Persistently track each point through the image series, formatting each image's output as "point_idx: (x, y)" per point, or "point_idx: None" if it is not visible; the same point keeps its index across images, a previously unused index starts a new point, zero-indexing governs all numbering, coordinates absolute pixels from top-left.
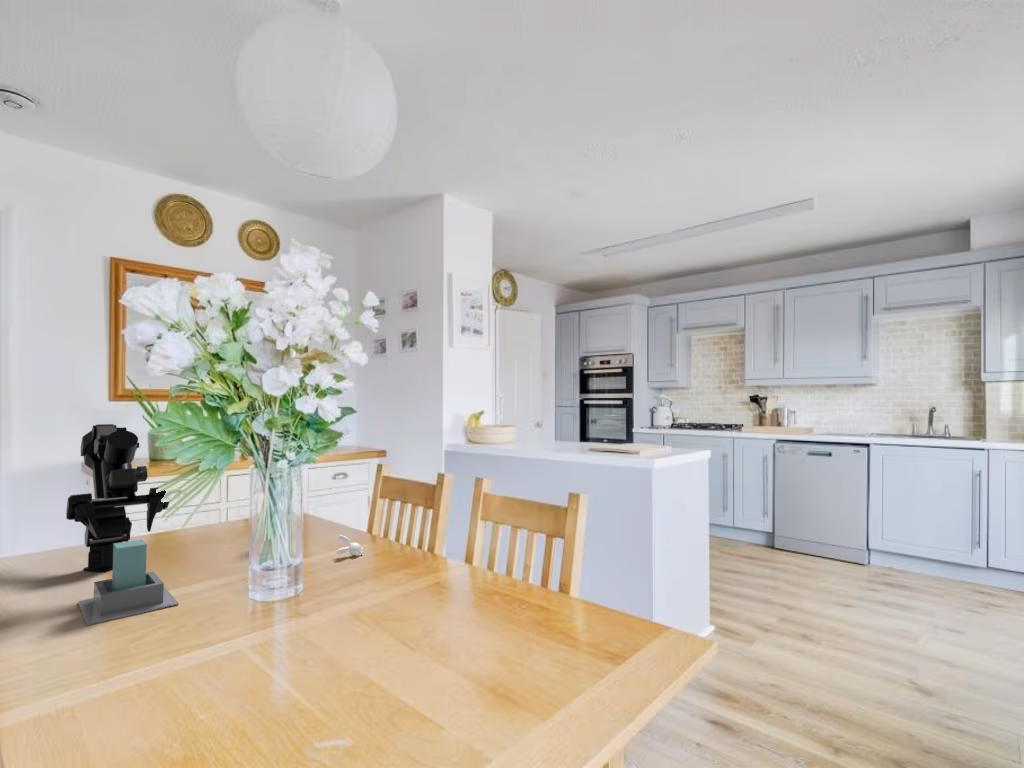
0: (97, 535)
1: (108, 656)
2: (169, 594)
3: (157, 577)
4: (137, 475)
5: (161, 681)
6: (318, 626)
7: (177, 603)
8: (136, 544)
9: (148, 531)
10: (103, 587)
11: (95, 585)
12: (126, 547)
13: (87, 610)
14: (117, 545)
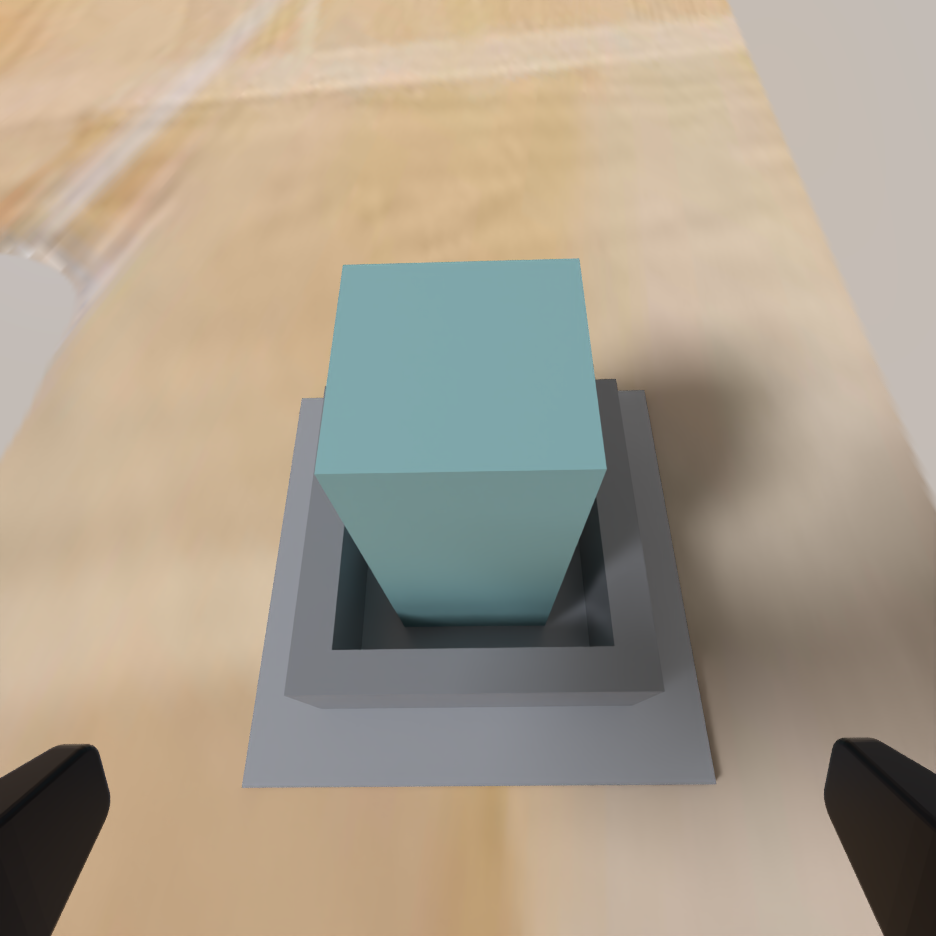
0: (867, 738)
1: (576, 149)
2: (285, 546)
3: (313, 515)
4: None
5: (489, 19)
6: (117, 58)
7: (306, 399)
8: (416, 301)
9: (107, 794)
10: (606, 514)
11: (650, 615)
12: (506, 261)
13: (652, 558)
14: (572, 362)
